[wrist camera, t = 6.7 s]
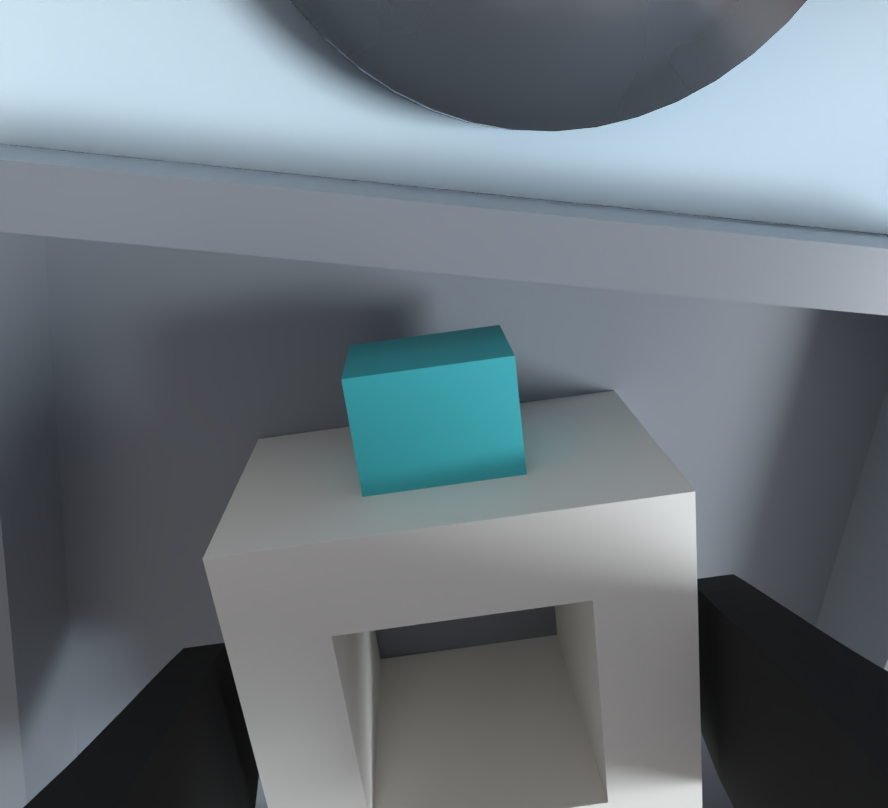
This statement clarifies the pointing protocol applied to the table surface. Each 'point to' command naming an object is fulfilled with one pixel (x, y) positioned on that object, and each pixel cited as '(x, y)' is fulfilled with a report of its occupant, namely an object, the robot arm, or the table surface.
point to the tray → (323, 404)
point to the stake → (546, 53)
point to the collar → (463, 594)
